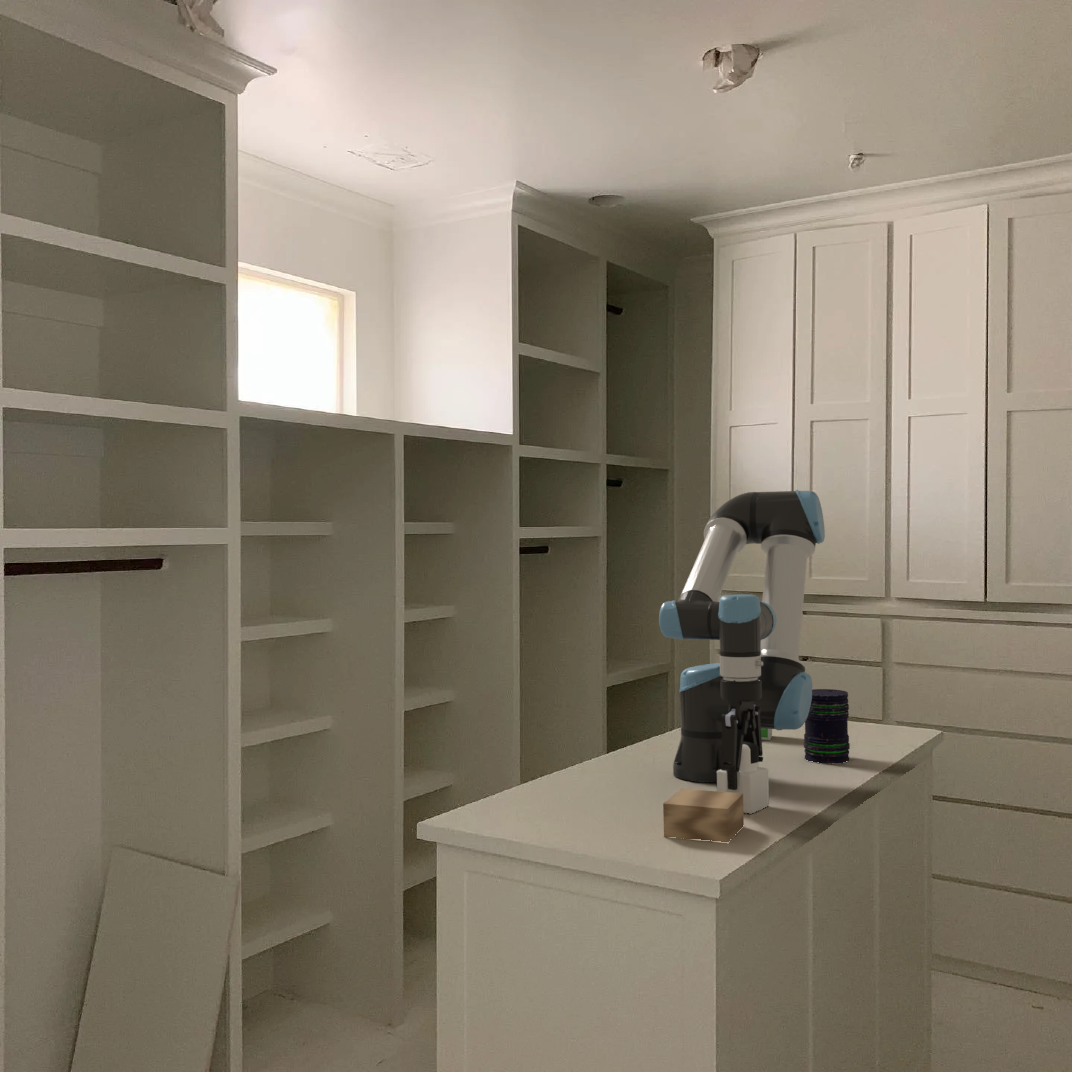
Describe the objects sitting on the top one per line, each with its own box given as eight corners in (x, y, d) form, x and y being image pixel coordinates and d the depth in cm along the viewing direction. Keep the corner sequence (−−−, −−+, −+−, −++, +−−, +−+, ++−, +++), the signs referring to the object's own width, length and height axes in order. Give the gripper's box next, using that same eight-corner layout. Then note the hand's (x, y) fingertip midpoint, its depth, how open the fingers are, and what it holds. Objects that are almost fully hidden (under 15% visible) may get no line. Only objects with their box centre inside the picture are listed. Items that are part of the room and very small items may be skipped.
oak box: (663, 839, 180) (663, 803, 180) (682, 822, 191) (681, 788, 191) (728, 845, 176) (727, 809, 176) (743, 828, 186) (743, 793, 186)
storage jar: (841, 765, 232) (840, 696, 232) (797, 761, 237) (796, 693, 237) (855, 757, 240) (854, 690, 240) (813, 753, 246) (811, 687, 245)
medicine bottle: (735, 801, 204) (734, 738, 204) (769, 806, 199) (768, 742, 199) (716, 809, 198) (715, 744, 198) (751, 814, 194) (750, 748, 193)
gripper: (739, 686, 188) (741, 817, 188) (779, 672, 205) (781, 792, 205) (699, 684, 192) (702, 811, 192) (741, 670, 209) (744, 787, 209)
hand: (743, 801), depth 198 cm, fingers closed on medicine bottle, 7 cm apart
